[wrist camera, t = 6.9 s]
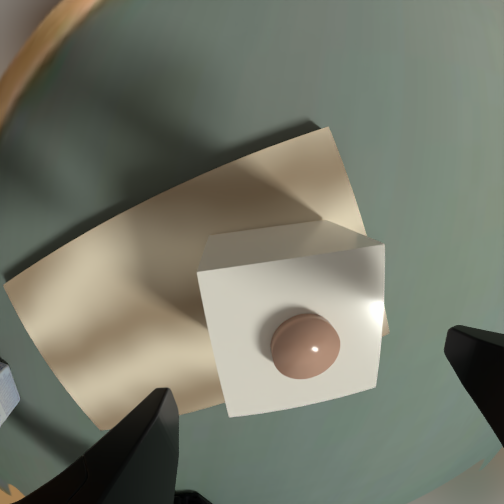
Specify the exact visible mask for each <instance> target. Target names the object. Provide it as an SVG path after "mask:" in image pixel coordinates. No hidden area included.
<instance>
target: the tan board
mask: <svg viewBox="0 0 504 504" xmlns="http://www.w3.org/2000/svg"><path fill="white" fill-rule="evenodd" d="M320 220H328V221H330V222H333V223H335V224H338V225H340V226H343V227H345V228H348V229H350V230H353V231H355V232H357V233H360V234H362V235H365V236H367V235H366V232H365V228H364V225H363V222H362V218H361V215H360V212H359V209H358V206H357V203H356V200H355V197H354V194H353V191H352V188H351V185H350V182H349V179H348V176H347V173H346V170H345V168H344V165H343V162H342V160H341V157H340V154H339V152H338V149H337V146H336V144H335V141H334V139H333V136H332V134H331V131H330V129H329V127H326V128H323V129H319V130H316V131H313V132H310V133H307V134H304V135H302V136H299V137H296V138H293V139H290V140H287V141H284V142H282V143H279V144H276V145H273V146H271V147H268V148H265V149H263V150H260V151H258V152H255V153H252V154H250V155H247V156H245V157H242V158H240V159H237V160H235V161H232V162H230V163H228V164H225V165H223V166H220V167H218V168H216V169H213V170H211V171H209V172H206V173H204V174H202V175H199V176H197V177H195V178H193V179H190V180H188V181H186V182H184V183H182V184H180V185H177V186H175V187H173V188H171V189H169V190H167V191H165V192H163V193H160V194H158V195H156V196H154V197H152V198H150V199H148V200H146V201H144V202H142V203H140V204H138V205H136V206H134V207H132V208H130V209H128V210H127V211H125V212H123V213H121V214H119V215H117V216H115V217H113V218H111V219H110V220H108V221H106V222H104V223H102V224H100V225H99V226H97V227H95V228H93V229H91V230H90V231H88V232H86V233H84V234H83V235H81V236H79V237H77V238H76V239H74V240H72V241H71V242H69V243H67V244H66V245H64V246H62V247H61V248H59V249H57V250H56V251H54V252H52V253H51V254H49V255H48V256H46V257H44V258H43V259H41V260H40V261H38V262H37V263H35V264H34V265H32V266H30V267H29V268H27V269H26V270H24V271H23V272H21V273H20V274H18V275H17V276H16V277H14V278H13V279H11V280H10V281H8V282H7V283H5V284H4V285H3V286H4V288H5V290H6V292H7V294H8V296H9V298H10V300H11V302H12V304H13V306H14V308H15V310H16V312H17V314H18V316H19V318H20V320H21V321H22V323H23V325H24V327H25V328H26V330H27V332H28V334H29V335H30V337H31V339H32V340H33V342H34V344H35V345H36V347H37V348H38V350H39V351H40V353H41V355H42V356H43V358H44V359H45V361H46V362H47V364H48V365H49V367H50V368H51V369H52V371H53V372H54V374H55V375H56V377H57V378H58V379H59V381H60V382H61V383H62V385H63V386H64V387H65V389H66V390H67V391H68V393H69V394H70V395H71V396H72V398H73V399H74V400H75V401H76V403H77V404H78V405H79V406H80V408H81V409H82V410H83V411H84V412H85V413H86V415H87V416H88V417H89V418H90V419H91V420H92V422H93V423H94V424H95V425H96V426H97V427H98V428H99V429H100V430H108V429H112V428H113V427H114V426H115V425H116V424H118V423H119V422H120V421H121V420H122V419H123V418H124V417H125V416H126V415H127V414H128V413H130V412H131V411H132V410H133V409H134V408H135V407H136V406H137V405H138V404H139V403H140V402H141V401H142V400H144V399H145V398H146V397H147V396H148V395H149V394H150V393H151V392H152V391H153V390H154V389H155V388H163V387H168V388H170V389H171V391H172V394H173V396H174V399H175V401H176V404H177V407H178V411H179V415H182V414H186V413H189V412H193V411H197V410H201V409H204V408H208V407H211V406H215V405H218V404H221V403H224V402H225V399H224V395H223V391H222V387H221V383H220V379H219V375H218V371H217V367H216V362H215V358H214V354H213V349H212V345H211V340H210V336H209V331H208V327H207V322H206V317H205V312H204V307H203V302H202V297H201V292H200V287H199V282H198V277H197V269H198V266H199V263H200V260H201V257H202V254H203V251H204V248H205V245H206V242H207V240H208V237H209V236H210V235H216V234H223V233H230V232H237V231H245V230H252V229H259V228H266V227H274V226H281V225H289V224H297V223H304V222H312V221H320ZM389 333H390V332H389V327H388V322H387V317H386V312H385V307H384V309H383V325H382V337H383V336H385V335H387V334H389Z"/></svg>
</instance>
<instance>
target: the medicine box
mask: <svg viewBox="0 0 504 504" xmlns="http://www.w3.org/2000/svg"><path fill="white" fill-rule="evenodd" d="M19 401H20V395H19V393H18V390H17V387H16V384H15V382H14V379H13V376H12V373H11V370H10V368H9V365H7V364H4V363H2V362H0V427H1V425H2V424H3V422H4V421H5V420H6V418H7V417H8V416H9V414H10V413H11V412H12V410H13V409H14V408H15V406H16V405H17V404H18V402H19Z"/></svg>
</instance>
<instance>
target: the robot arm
mask: <svg viewBox="0 0 504 504" xmlns="http://www.w3.org/2000/svg"><path fill="white" fill-rule="evenodd" d="M444 353H445V355H446V357H447V359H448V361H449V362H450V364H451V366H452V367H453V369H454V371H455V372H456V374H457V376H458V378H459V380H460V381H461V383H462V385H463V386H464V388H465V389H466V391H467V392H468V394H469V395H470V396H471V398H472V399H473V401H474V402H475V404H476V405H477V407H478V408H479V410H480V411H481V413H482V414H483V416H484V417H485V419H486V420H487V422H488V423H489V425H490V426H491V428H492V429H493V431H494V433H495V434H496V436H497V437H498V439H499V441H500V442H501V444H502V446H503V447H504V334H501V333H496V332H491V331H486V330H481V329H476V328H471V327H467V326H462V325H456V326H454V327H451V328H450V329H449V330H448V332H447V337H446V342H445V347H444ZM178 457H179V411H178V407H177V404H176V401H175V399H174V396H173V394H172V391H171V389H170V388H168V387H163V388H155V389H154V390H153V391H152V392H151V393H150V394H149V395H148V396H147V397H146V398H145V399H144V400H142V401H141V402H140V403H139V404H138V405H137V406H136V407H135V408H134V409H133V410H132V411H131V412H130V413H128V414H127V415H126V416H125V417H124V418H123V419H122V420H121V421H120V422H119V423H118V424H116V425H115V426H114V427H113V428H112V429H111V430H110V431H109V432H108V433H107V434H105V435H104V436H103V437H102V438H101V439H100V440H99V441H98V442H97V443H95V444H94V445H93V446H92V447H91V448H90V449H89V450H88V451H86V452H85V453H84V454H83V456H81V457H79V458H78V459H77V460H76V461H75V462H74V463H73V464H71V465H70V466H69V467H68V468H66V469H65V470H64V471H63V472H61V473H60V474H59V475H57V476H56V477H54V478H53V479H52V480H50V481H49V482H47V483H46V484H44V485H43V486H41V487H40V488H38V489H37V490H35V491H34V492H32V493H30V494H29V495H27V496H26V497H24V498H23V499H21V500H19V501H17V502H15V503H12V504H211V503H210V502H209V501H207V500H206V499H205V498H203V497H202V496H201V495H200V494H198V493H188V494H179V495H174V493H175V484H176V475H177V467H178Z"/></svg>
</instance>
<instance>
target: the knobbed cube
mask: <svg viewBox="0 0 504 504" xmlns="http://www.w3.org/2000/svg"><path fill="white" fill-rule="evenodd" d="M197 277H198V282H199V287H200V292H201V297H202V302H203V307H204V312H205V317H206V322H207V327H208V331H209V336H210V340H211V345H212V349H213V354H214V358H215V362H216V367H217V371H218V375H219V379H220V383H221V387H222V391H223V395H224V399H225V403H226V407H227V411H228V415H229V417H237V416H245V415H253V414H260V413H267V412H273V411H279V410H284V409H290V408H295V407H300V406H305V405H310V404H314V403H319V402H323V401H327V400H331V399H335V398H339V397H343V396H347V395H350V394H354V393H357V392H361V391H364V390H368V389H371V388H374V387H376V381H377V374H378V366H379V357H380V348H381V337H382V325H383V309H384V285H385V244H383V243H381V242H379V241H376V240H374V239H372V238H369V237H367V236H365V235H362V234H360V233H357V232H355V231H353V230H350V229H348V228H345V227H343V226H340V225H338V224H335V223H333V222H330V221H328V220H320V221H312V222H304V223H297V224H289V225H281V226H274V227H266V228H259V229H252V230H245V231H237V232H230V233H223V234H216V235H210V236H209V237H208V240H207V242H206V245H205V248H204V251H203V254H202V257H201V260H200V263H199V266H198V269H197Z"/></svg>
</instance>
